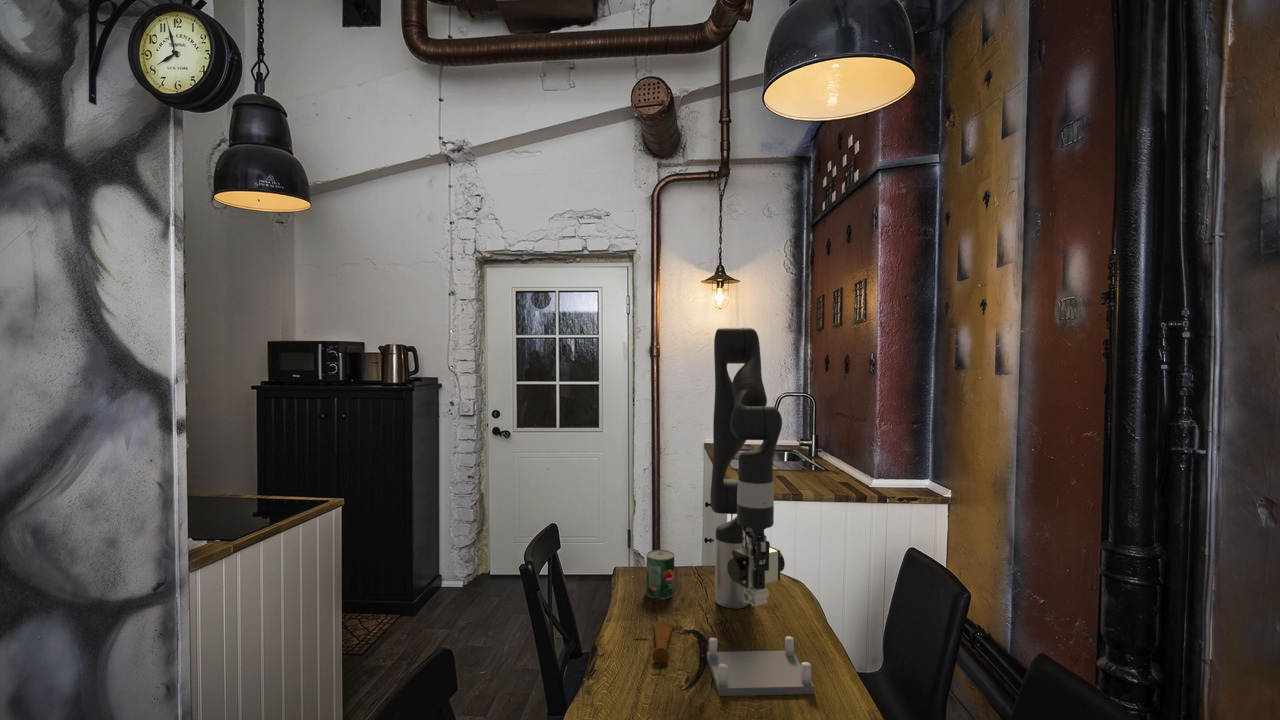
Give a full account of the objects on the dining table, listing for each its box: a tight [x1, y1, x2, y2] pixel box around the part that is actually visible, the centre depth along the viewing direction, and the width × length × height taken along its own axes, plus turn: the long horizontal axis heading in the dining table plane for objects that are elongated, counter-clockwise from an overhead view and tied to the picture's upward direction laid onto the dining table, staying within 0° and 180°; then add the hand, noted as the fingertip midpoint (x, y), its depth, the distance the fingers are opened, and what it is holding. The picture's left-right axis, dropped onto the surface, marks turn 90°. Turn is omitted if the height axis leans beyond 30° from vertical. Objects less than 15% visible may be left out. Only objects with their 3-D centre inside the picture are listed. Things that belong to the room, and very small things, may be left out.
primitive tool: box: [651, 622, 676, 665], centre depth 133 cm, size 19×6×4 cm, turn 178°
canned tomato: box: [645, 549, 676, 600], centre depth 162 cm, size 8×8×11 cm
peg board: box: [706, 635, 815, 697], centre depth 120 cm, size 19×14×5 cm
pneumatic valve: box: [727, 545, 786, 608], centre depth 120 cm, size 6×12×12 cm, turn 118°
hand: (754, 581), depth 120 cm, fingers closed on pneumatic valve, 6 cm apart
